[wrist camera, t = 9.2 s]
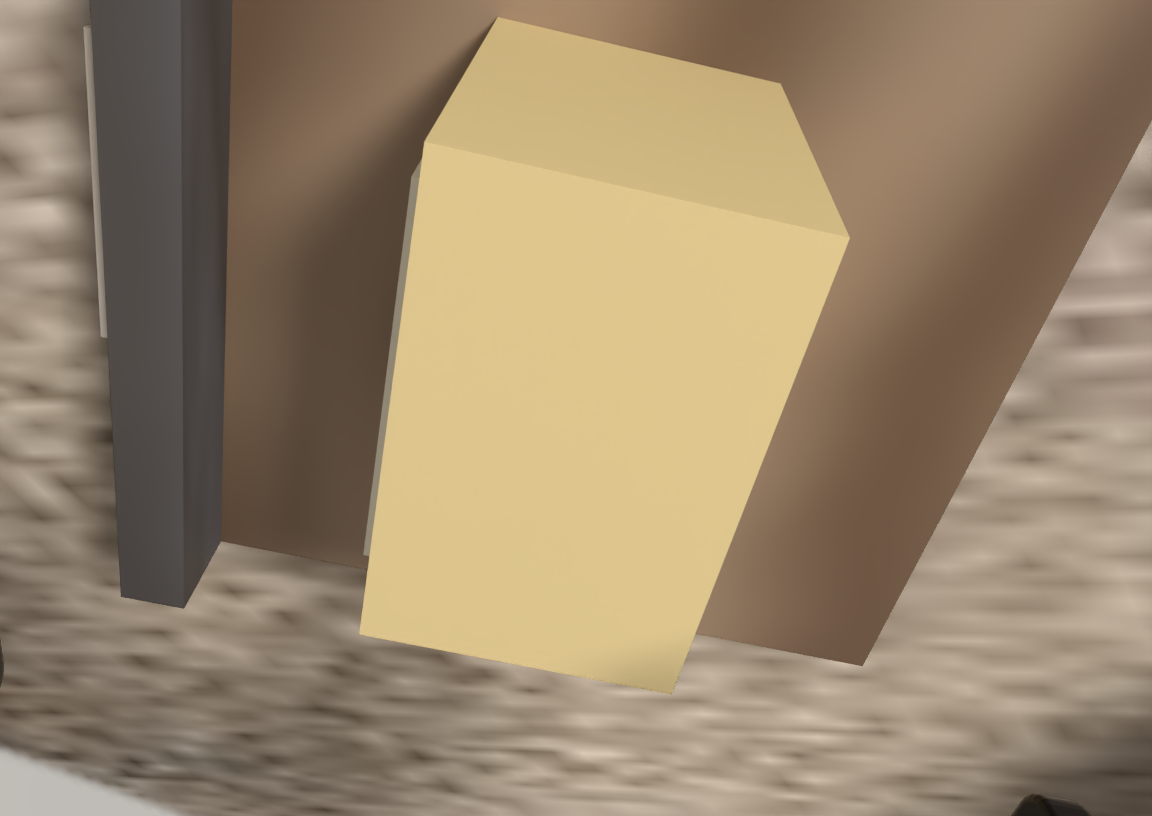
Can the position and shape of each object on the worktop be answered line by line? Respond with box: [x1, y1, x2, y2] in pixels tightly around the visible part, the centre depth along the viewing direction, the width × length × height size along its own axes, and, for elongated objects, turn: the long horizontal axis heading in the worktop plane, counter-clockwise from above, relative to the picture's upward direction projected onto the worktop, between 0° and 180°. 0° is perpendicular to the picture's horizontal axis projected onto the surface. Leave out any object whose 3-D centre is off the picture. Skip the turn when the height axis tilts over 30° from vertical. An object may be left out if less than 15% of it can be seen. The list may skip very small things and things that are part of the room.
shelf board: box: [83, 0, 1152, 666], centre depth 17 cm, size 16×16×3 cm
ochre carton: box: [359, 17, 850, 694], centre depth 14 cm, size 5×7×6 cm, turn 168°
